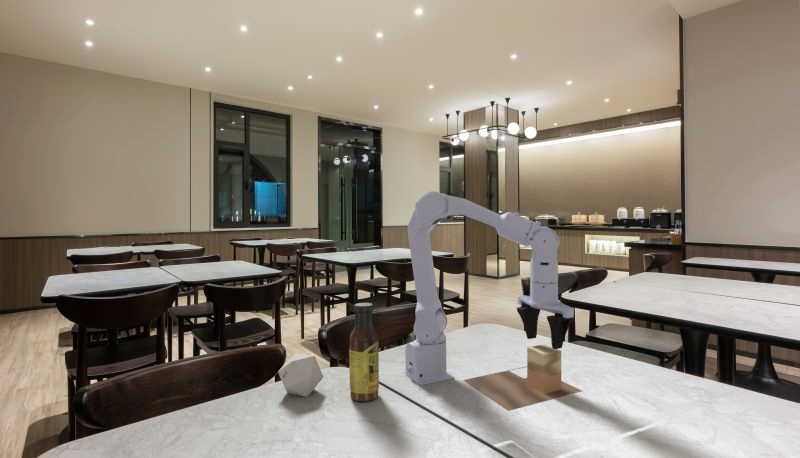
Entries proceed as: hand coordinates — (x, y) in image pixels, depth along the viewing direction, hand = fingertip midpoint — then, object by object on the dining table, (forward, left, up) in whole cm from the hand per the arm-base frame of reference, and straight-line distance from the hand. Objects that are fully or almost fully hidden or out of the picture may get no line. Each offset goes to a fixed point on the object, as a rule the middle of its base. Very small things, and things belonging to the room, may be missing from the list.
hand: (543, 343), depth 88 cm
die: (-49, +22, -10) cm, 55 cm away
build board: (-4, +3, -10) cm, 11 cm away
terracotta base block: (0, 0, -10) cm, 10 cm away
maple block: (0, 0, -6) cm, 6 cm away
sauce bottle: (-37, +14, -10) cm, 41 cm away
